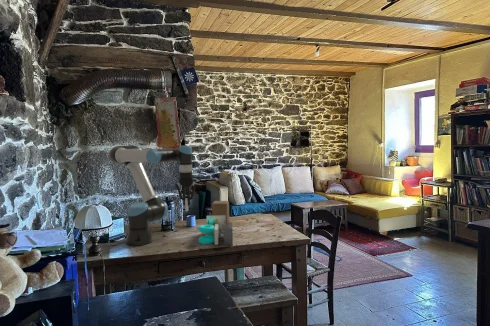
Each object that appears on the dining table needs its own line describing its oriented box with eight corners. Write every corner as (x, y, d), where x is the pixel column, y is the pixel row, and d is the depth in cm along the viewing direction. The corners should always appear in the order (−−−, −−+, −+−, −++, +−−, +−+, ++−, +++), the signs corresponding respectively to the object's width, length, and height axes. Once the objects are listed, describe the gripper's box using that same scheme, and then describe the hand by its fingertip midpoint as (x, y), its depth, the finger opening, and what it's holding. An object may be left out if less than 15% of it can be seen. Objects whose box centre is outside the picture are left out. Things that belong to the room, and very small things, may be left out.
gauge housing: (205, 246, 201) (204, 222, 200) (207, 237, 219) (206, 215, 217) (232, 245, 202) (232, 221, 201) (232, 236, 219) (232, 214, 218)
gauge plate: (214, 244, 202) (214, 225, 201) (215, 237, 217) (215, 219, 216) (218, 244, 202) (217, 225, 201) (218, 237, 217) (218, 219, 216)
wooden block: (229, 229, 236) (229, 200, 235) (227, 233, 226) (226, 203, 225) (215, 229, 237) (214, 200, 236) (212, 233, 227) (211, 203, 226)
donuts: (207, 223, 215) (218, 225, 208) (207, 238, 216) (218, 242, 209) (194, 226, 208) (205, 229, 201) (195, 242, 208) (206, 246, 202)
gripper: (173, 172, 201) (174, 212, 203) (196, 172, 201) (197, 212, 203) (175, 171, 208) (176, 209, 210) (197, 170, 209) (198, 209, 211)
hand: (186, 210), depth 207 cm, fingers closed
